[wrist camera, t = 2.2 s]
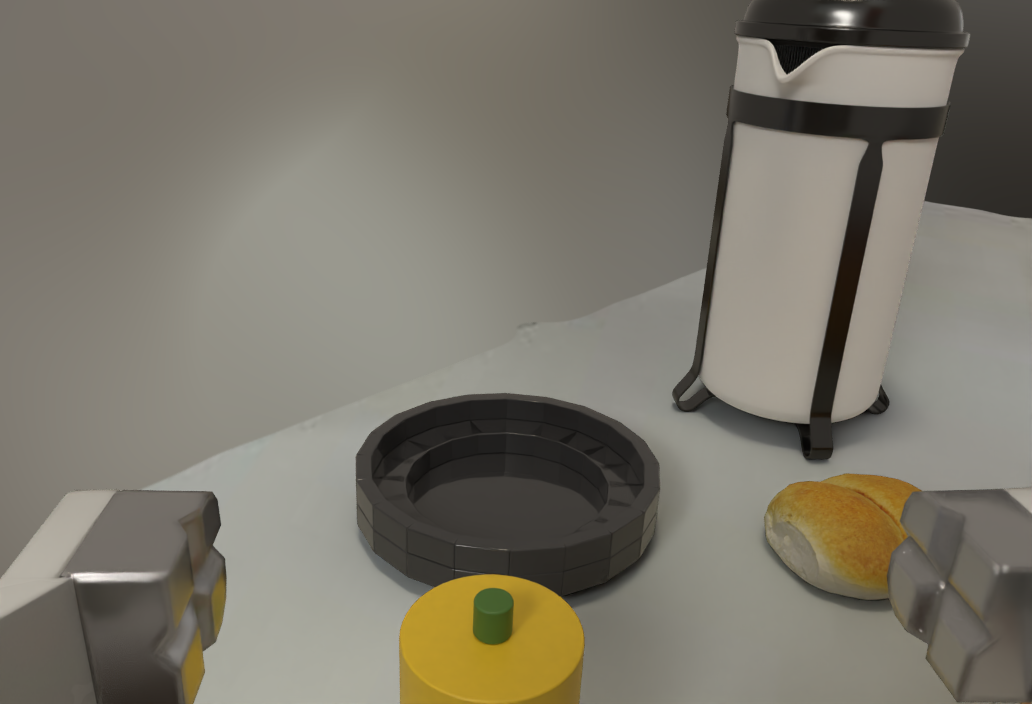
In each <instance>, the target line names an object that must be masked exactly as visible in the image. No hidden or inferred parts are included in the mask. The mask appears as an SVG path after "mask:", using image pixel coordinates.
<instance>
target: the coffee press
mask: <svg viewBox="0 0 1032 704" xmlns="http://www.w3.org/2000/svg"><path fill="white" fill-rule="evenodd" d="M735 34H736V35H737V36H736V39H737V41H738V42H739V52H738V61H737V68H736V75H735V83H734V85H731V86H730V90H729V98H728V105H727V114H726V115H727V118H728V126H727V131H726V136H725V140H724V146H723V153H722V160H721V168H720V175H719V182H718V190H717V197H716V204H715V211H714V219H713V227H712V234H711V241H710V248H709V255H708V263H707V270H706V277H705V284H704V292H703V299H702V306H701V314H700V321H699V328H698V335H697V343H696V350H695V356H694V361H693V365H692V367H691V369H690V371H689V372H688V373H687V375H686V376H685V377H684V378H683V379H682V380H681V381H680V382H679V383H678V384H677V385H676V387H675V388H674V389H673V392H672V396H673V398H674V400H675V402H676V404H677V406H678V408H679V409H680V410H682V411H685V412H688V411H692V410H694V409H695V408H697V407H698V406H699V405H700V404H702V403H703V402H704V401H706V400H707V399H709V398H711V397H718V398H719V399H721V400H722V401H724V402H726V403H727V404H729V405H731V406H733V407H735V408H738V409H740V410H742V411H745V412H748V413H751V414H754V415H757V416H760V417H764V418H768V419H773V420H778V421H783V422H791V423H795V425H796V427H797V428H798V431H799V434H800V439H801V446H802V452H803V455H804V457H805V458H806V459H829V458H830V457H831V455H832V452H833V441H832V430H831V423H833V422H839V421H843V420H847V419H850V418H853V417H855V416H857V415H859V414H861V413H863V412H864V411H865V410H868V411H869V412H870V413H872V414H881V413H883V412H884V411H886V410H887V408H888V406H889V399H888V397H887V395H886V393H885V392H884V390H883V388H882V386H881V381H882V377H883V373H884V368H885V364H886V360H887V356H888V352H889V348H890V343H891V339H892V335H893V331H894V326H895V322H896V318H897V314H898V309H899V305H900V301H901V297H902V292H903V288H904V284H905V279H906V275H907V271H908V267H909V262H910V258H911V254H912V249H913V245H914V241H915V237H916V232H917V228H918V224H919V219H920V215H921V211H922V207H923V202H924V198H925V194H926V189H927V185H928V181H929V177H930V172H931V168H932V164H933V159H934V154H935V151H936V147H937V142H938V138H939V137H940V136H942V135H943V134H944V131H945V127H946V123H947V118H948V114H949V110H950V105H951V103H950V102H949V101H947V99H948V94H949V91H950V86H951V82H952V78H953V74H954V70H955V66H956V62H957V59H958V57H959V56H960V55H962V54H963V52H964V49H963V48H967V47H968V43H969V39H970V33H967V32H964V31H963V14H962V10H961V7H960V5H959V3H958V2H957V1H956V0H751V2H750V4H749V5H748V8H747V10H746V13H745V16H744V18H743V20H737V21H736V26H735ZM698 375H699V377H700V379H701V381H702V382H703V384H704V385H705V386H706V388H704V389H702V390H700V391H699V392H697V393H696V394H695V395H694V396H692V397H691V398H690V399H688V400H687V401H679V398H680V397H681V396H682V395H683V393H684V392H685V391H686V390H687V389H688V388H689V387H690V386H691V385H692V384H693V382H694V381H695V380H696V378H697V377H698ZM878 392H879V397H878V399H877V401H876V402H874V401H875V400H876V398H877V395H878Z"/></svg>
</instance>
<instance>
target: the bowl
mask: <svg viewBox="0 0 1032 704" xmlns="http://www.w3.org/2000/svg"><path fill="white" fill-rule="evenodd" d="M659 494H660V467H659V463H658V461H657V459H656V458H655V456H654V455H653V453H652V452H651V450H650V448H649V447H648V445H647V444H646V442H645V441H644V440H643V439H642V438H640V437H639V436H638V435H636V434H635V433H634V432H632V431H631V430H630V429H628V428H627V427H626V426H624V425H623V424H622V423H620V422H618V421H617V420H614V419H612V418H610V417H608V416H605V415H603V414H601V413H599V412H596V411H594V410H592V409H589V408H587V407H585V406H581V405H577V404H573V403H569V402H565V401H561V400H557V399H553V398H547V397H540V396H530V395H520V394H510V393H508V394H507V393H497V394H471V395H463V396H458V397H452V398H447V399H442V400H436V401H431V402H429V403H425V404H422V405H420V406H417V407H415V408H412V409H409V410H407V411H404V412H402V413H399V414H397V415H394V416H393V417H392V418H390V419H389V420H387V421H386V422H385V423H383V424H382V425H380V426H379V427H378V428H376V429H375V430H373V431H372V432H371V433H370V434H369V436H368V437H367V439H366V440H365V442H364V444H363V445H362V447H361V448H360V450H359V452H358V453H357V455H356V497H357V524H358V526H359V528H360V530H361V531H362V533H363V535H364V536H365V538H366V540H367V541H368V543H369V545H370V546H371V548H372V550H373V551H374V552H375V554H377V555H378V556H380V557H381V558H382V559H384V560H385V561H386V562H388V563H389V564H391V565H392V566H393V567H395V568H396V569H397V570H399V571H400V572H402V573H403V574H404V575H406V576H408V577H409V578H412V579H414V580H417V581H420V582H423V583H425V584H428V585H431V586H434V587H437V586H439V585H441V584H443V583H446V582H448V581H451V580H454V579H458V578H462V577H467V576H473V575H485V574H495V575H507V576H513V577H518V578H522V579H526V580H529V581H532V582H535V583H537V584H540V585H542V586H544V587H546V588H548V589H549V590H551V591H553V592H555V593H556V594H557V595H559V596H565V595H568V594H571V593H574V592H577V591H580V590H583V589H586V588H589V587H592V586H596V585H599V584H602V583H605V582H607V581H608V580H610V579H611V578H613V577H614V576H615V575H617V574H618V573H620V572H621V571H623V570H624V569H625V568H627V567H628V566H630V565H631V564H633V563H634V562H635V561H637V560H638V559H639V558H640V557H641V555H642V553H643V552H644V550H645V548H646V547H647V545H648V543H649V542H650V540H651V538H652V536H653V535H654V532H655V526H656V518H657V509H658V502H659Z"/></svg>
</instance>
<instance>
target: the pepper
mask: <svg viewBox="0 0 1032 704" xmlns="http://www.w3.org/2000/svg"><path fill="white" fill-rule="evenodd" d="M584 646H585V637H584V632H583V628H582V625H581V623H580V620H579V618H578V617H577V615H576V613H575V612H574V610H573V609H572V608H571V606H570V605H569V604H568V603H567V602H566V601H565V600H564V599H563V598H561V597H560V596H559V595H557V594H556V593H555V592H553V591H551V590H549V589H548V588H546V587H544V586H542V585H540V584H537V583H535V582H532V581H529V580H526V579H522V578H518V577H513V576H507V575H495V574H485V575H473V576H467V577H462V578H458V579H454V580H451V581H448V582H446V583H443V584H441V585H439V586H437V587H435V588H433V589H431V590H430V591H428V592H427V593H425V594H424V595H423V596H421V597H420V598H419V599H418V600H417V601H416V602H415V603H414V604H413V605H412V606H411V608H410V609H409V611H408V612H407V614H406V616H405V618H404V620H403V622H402V625H401V629H400V636H399V657H400V704H579V699H580V688H581V678H582V667H583V657H584Z"/></svg>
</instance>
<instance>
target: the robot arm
mask: <svg viewBox="0 0 1032 704" xmlns="http://www.w3.org/2000/svg"><path fill="white" fill-rule="evenodd" d="M900 523H901V525H902V527H903V528H904V530H905V532H906V534H907V536H908V537H907V538H906V539H905V540H904V541H903V542H902V543H901V544H900V545H899V546H898V547H897V548H896V549H895V550H894V551H893V552H892V553H891V558H890V563H889V567H888V572H887V584H888V594H889V600H890V603H891V605H892V608H893V610H894V613H895V616H896V617H897V618H898V620H899V621H900V623H901V624H902V626H903V627H904V629H905V630H906V631H907V632H909V633H910V634H912V635H914V636H915V637H917V638H919V639H920V640H922V641H924V642H925V643H927V644H928V649H927V654H926V660H927V661H928V663H929V664H930V665H931V667H932V668H933V670H934V671H935V672H936V674H937V675H938V677H939V678H940V679H941V681H942V682H943V683H944V685H945V686H946V688H947V689H948V690H949V692H950V693H951V695H952V696H953V697H954V699H955V700H956V702H1026V703H1031V704H1032V487H1031V488H1007V489H987V490H952V491H917V492H912V493H911V495H910V496H909V498H908V499H907V501H906V502H905V504H904V507H903V511H902V515H901V518H900ZM220 526H221V521H220V514H219V507H218V500H217V498H216V497H215V495H214V494H213V492H207V491H149V490H123V491H119V490H76V491H72V492H69V493H67V494H66V495H65V496H64V497H63V498H62V500H61V501H60V502H59V504H58V505H57V506H56V507H55V509H54V510H53V511H52V513H51V514H50V515H49V516H48V518H47V519H46V521H45V522H44V523H43V524H42V526H41V527H40V528H39V530H38V531H37V532H36V533H35V535H34V536H33V537H32V539H31V540H30V541H29V542H28V544H27V545H26V546H25V548H24V549H23V550H22V551H21V553H20V554H19V556H18V557H17V558H16V559H15V561H14V562H13V563H12V564H11V566H10V567H9V569H8V570H7V571H6V572H5V574H4V575H3V576H2V578H0V704H193V703H194V700H195V698H196V695H197V692H198V690H199V687H200V684H201V681H202V679H203V676H204V673H205V669H204V660H203V651H205V650H206V649H207V648H208V647H210V646H211V645H212V644H214V643H215V642H216V640H217V637H218V634H219V631H220V628H221V625H222V621H223V614H224V608H225V602H226V567H225V558H224V557H223V556H222V555H221V554H220V553H219V552H218V551H217V550H216V549H215V548H214V546H213V543H214V541H215V538H216V536H217V533H218V531H219V529H220Z"/></svg>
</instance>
